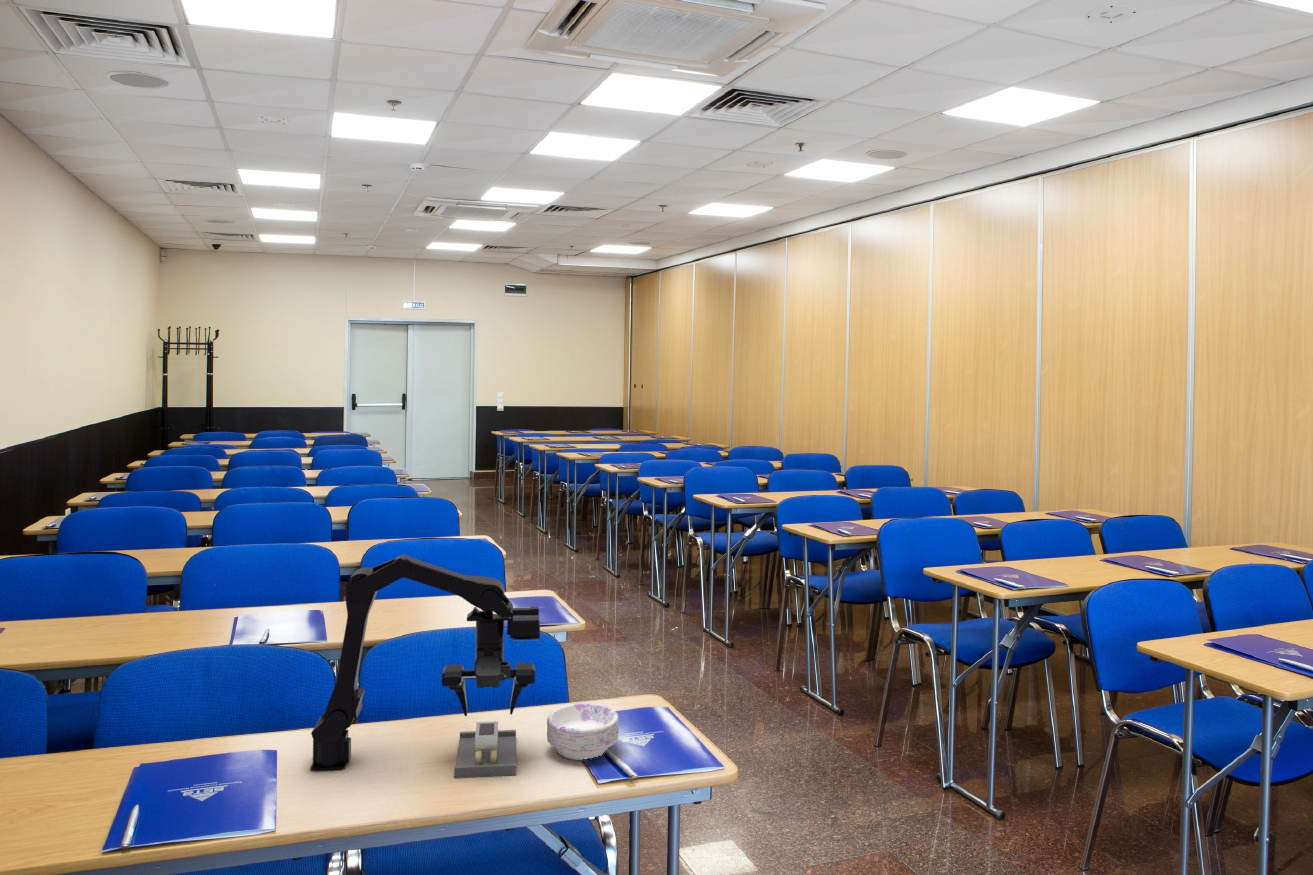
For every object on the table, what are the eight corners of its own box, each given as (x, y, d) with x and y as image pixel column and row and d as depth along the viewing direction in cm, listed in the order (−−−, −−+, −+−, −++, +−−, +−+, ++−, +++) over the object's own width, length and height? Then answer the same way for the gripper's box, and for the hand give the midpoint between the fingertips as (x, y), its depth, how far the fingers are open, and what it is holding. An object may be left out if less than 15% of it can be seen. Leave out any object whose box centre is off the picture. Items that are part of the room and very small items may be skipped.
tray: (454, 777, 169) (454, 760, 169) (459, 740, 187) (460, 724, 187) (515, 775, 171) (516, 758, 171) (515, 738, 189) (516, 723, 189)
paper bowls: (535, 761, 178) (536, 724, 177) (560, 733, 193) (561, 698, 192) (606, 771, 174) (607, 733, 174) (626, 742, 189) (627, 706, 189)
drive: (474, 761, 175) (475, 736, 174) (476, 745, 183) (476, 721, 182) (497, 760, 176) (497, 735, 175) (497, 744, 183) (498, 720, 183)
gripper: (440, 653, 168) (439, 731, 169) (536, 651, 171) (534, 728, 172) (444, 637, 179) (443, 710, 180) (534, 635, 182) (533, 707, 183)
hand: (488, 714), depth 179 cm, fingers open, 9 cm apart
